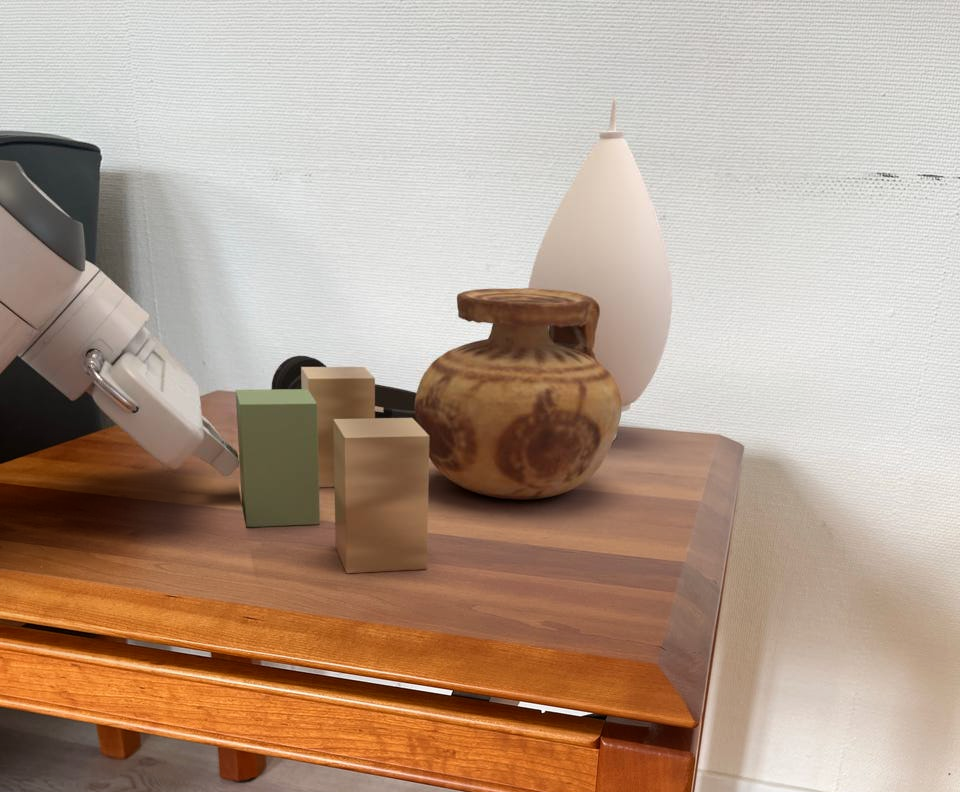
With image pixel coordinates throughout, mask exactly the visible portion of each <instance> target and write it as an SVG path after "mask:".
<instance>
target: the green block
mask: <svg viewBox="0 0 960 792" xmlns="http://www.w3.org/2000/svg"><path fill="white" fill-rule="evenodd" d="M235 404H236V405H235V407H236V424H237V425H236V426H237V441H238V459H239V479H240V497H241V498H240V499H241V509H242V513H243V518H244V523H245V527H246V528H263V527H264V528H265V527H287V526H313V525H314V526H315V525H320V524H321V516H320V515H321V514H320V512H321V511H320V509H321V508H320V487H319V465H318V422H317V403H316V401H315V400H314V398H313V396H312V395H311V393H310V391H309V390H308V389H276V390H272V389H235Z"/></svg>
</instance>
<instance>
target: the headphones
mask: <svg viewBox="0 0 960 792" xmlns="http://www.w3.org/2000/svg"><path fill="white" fill-rule="evenodd" d="M301 367H328V366H327V365H326V364H324V363H323V362H322V361H321V360H320V359H317V358H315V357H311V356H307V355H296V356H295V355H294V356H291V357H288V358H287V359H286V360H284V361H283V362H282V363H281V364H279V365H278V367H277V368H276V370H275V371H274V374H273V375H272V380H271V389H270V390H276V389H302V383H301ZM416 393H417V391H411V390H407V389H404V388H397V387H393V386H388V385H384V384H383V385H382V384H377V383H375V407H377V408H382V409H383V410H382V411H376V410H375V418H413V419H414V420H415V421H416V417H415V398H416Z"/></svg>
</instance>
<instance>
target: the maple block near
mask: <svg viewBox="0 0 960 792" xmlns="http://www.w3.org/2000/svg"><path fill="white" fill-rule="evenodd" d="M333 435H334V487H333V488H334V530H335V531H334V532H335V533H334V534H335V548H336V551H337V553H338V556H339V559H340V561H341V563H342V566H343V568H344V570H345V573H346V574H357V573H358V574H359V573H361V574H362V573H377V572H378V573H380V572H398V571H413V570H414V571H415V570H417V571H418V570H427V569H428V536H429V535H428V534H429V533H428V532H429V530H428V529H429V528H428V526H429V482H430V481H429V480H430V478H429V477H430V458H429V435H428V434H427V433H426V432H425V431H424V430H423V429H422V428H421V426H420V425H419V424H418V423H417V422H416V421H415V420H414V419H413V418H369V419H333Z"/></svg>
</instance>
